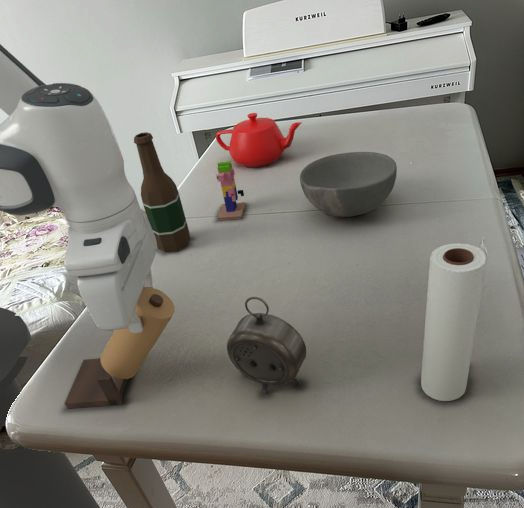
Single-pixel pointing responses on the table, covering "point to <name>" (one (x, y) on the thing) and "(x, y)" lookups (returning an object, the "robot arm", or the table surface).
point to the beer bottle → (161, 199)
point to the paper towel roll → (451, 318)
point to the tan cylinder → (138, 335)
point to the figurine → (229, 193)
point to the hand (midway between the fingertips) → (143, 313)
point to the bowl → (349, 182)
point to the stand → (95, 387)
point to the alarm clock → (266, 349)
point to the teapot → (257, 141)
